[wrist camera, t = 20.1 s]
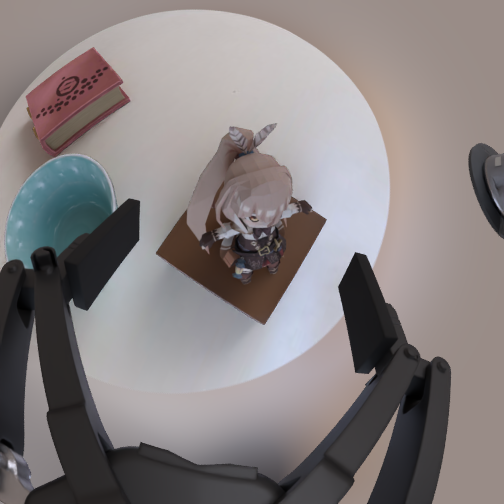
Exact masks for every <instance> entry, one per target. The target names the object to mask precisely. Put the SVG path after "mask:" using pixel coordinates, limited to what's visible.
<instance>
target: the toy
mask: <svg viewBox="0 0 504 504" xmlns="http://www.w3.org/2000/svg"><path fill="white" fill-rule="evenodd" d="M276 124H277V123H275V124H271V125H267V126H266V127H265V128H263V129H262V130H261V131H260V132H258V133H257V134H256V136H255V138H254V140H253V134H254V133H253V132H252V130H247V129H242V128H238V127H230V129H229V133H228V134H226V135H225V136H224V137H223V138H222V140H221V142H220V145H219V148H218V150H217V152H216V154H215V155H214V157H213V158H212V160H211V161H210V162H209V164H208V165H207V167H206V168H205V170H204V171H203V173H202V174H201V176H200V177H199V180H198V182H197V185H196V187H195V190H194V192H193V195H192V198H191V200H190V203H189V205H188V208H187V225H188V226H189V227H190V229H191V230H192V232H193V233H194V234H195V236H196V237H197V239H198V240H199V243H200V244H199V245H200V247H202V249H205V250H206V251H207V252H208V254H209V248H211V247H212V245H213V243H214V242H215V241H217V240H219V239H222V238H224V237H225V238H224V240H223V242H222V244H221V248H220V256H221V258H222V260H223V261H225V263H226V264H227V265H228V267H229V268H230V267H231V266H234V265H235V266H236V268H235V271H236V272H235V273H233V274H232V275H233V277H235V278H238V279H241V282H242V283H243V284H248V283H249V282H251V276H252V274H253V270H257V269H262V267H265V266H266V267H267V268H268V270H269V272H270V274H275V273H276V272H277V271H278V266H279V264H280V263H281V262H280V259H281V257H284V252H285V250H286V239H285V238H284V235H285V228H284V226H283V224H282V222H281V220H280V219H284V221H285V224H286V218H288V217H291V215H292V214H295V213H299V212H303V213H305V214H306V215H307V214H309V212H312V207H311V206H310V205H309V204H308V203H307V202H306V201H305V200H302V201H299V202H293V204H289V202H290V200H291V195H292V191H293V190H292V178H291V175H290V173H289V171H288V169H287V167H285V166H280V165H279V164H278V162H277V161H276V160H275V159H274V158H273V157H272V156H270V155H266V154H261V153H259V151H258V150H257V149H256V147H257V146H258V145H260V144H261V143H262V142H263V140H264V139H265V138H266V137H267V136H268V135H269V134H270V133H271V131H272V130H273V129H274V128H275V127H276ZM234 159H236V160H235V161H234ZM223 181H224V187H223V189H222V190H221V192H220V195H219V198H218V200H217V202H216V204H215V195H216V192H217V191H218V189H219V188H220V186H221V184H222V183H223ZM211 208H215V210H216V220H217V221H218V223H219V224H220V225H221V227H220V228H218V229H214V230H212V231H209V232H206V226H205V223H206V220H207V217H208V214H209V211H210V209H211ZM221 209H222V212H223V213H224V215H225V216H226V218H228V219H230V220H231V222H229V223H223V224H222V223H221V221H220V211H221ZM308 211H309V212H308ZM286 227H287V224H286ZM236 234H237V236H236V239H235V245H234V246H233V247H232V248H231V249H230V247H231V244H232V241H233V238H234V235H236ZM208 245H209V247H208Z"/></svg>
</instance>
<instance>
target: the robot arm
mask: <svg viewBox="0 0 504 504" xmlns="http://www.w3.org/2000/svg"><path fill="white" fill-rule="evenodd" d="M482 170H483V178H484V183H485V186H486V189H487V192H488V195H489V197H490V199H491V201H492V203H493V205H494V207H495V209H496V210H497V212H498V213H499V215H500V216H501V217H502V218H503V219H504V153H503V154H498V155H492V156H490V157H488V158H487V159H485V160H484V162H483V167H482ZM139 217H140V201H139V200H134V199H128V200H127V201H125V202H124V203H123V204H122V205H121V206H120V207H119V208H118V209H116V210H115V211H114V212H113V213H112V214H111V215H110V216H109V217H108V218H106V219H105V220H104V221H103V222H102V223H101V224H100V225H99V226H98V227H97V228H96V229H95V230H94V231H93V232H92V233H91V234H89V233H84V234H82V235H80V236H78V237H77V238H76V239H75V240H74V241H73V242H72V243H71V244H70V245H69V246H68V248H66V249H65V250H64V251H63V252H62V253H61V254H60V255H59V256H58V257H57V255H56V251H55V249H54V248H52V247H49V246H43V247H40V248H38V249H36V250H34V252H33V253H32V254H31V257H30V258H31V262H32V266H33V269H26V268H25V267H24V264H23V262H22V261H21V260H18V259H14V260H10V261H8V262H7V263H6V264H5V265H4V266H3V268H2V270H1V272H0V501H1V502H3V503H4V504H338V503H339V501H340V500H341V499H342V498H343V497H344V496H345V494H346V493H347V492H348V491H349V489H350V488H351V486H352V485H353V483H354V478H353V477H354V475H355V473H356V472H357V470H358V469H359V468H360V466H361V465H362V463H363V462H364V461H365V459H366V458H367V456H368V455H369V453H370V452H371V450H372V449H373V447H374V446H375V444H376V443H377V441H378V440H379V438H380V437H381V435H382V433H383V431H384V430H385V428H386V427H387V425H388V423H389V422H390V420H391V418H392V417H393V415H394V413H395V411H396V409H397V408H398V406H399V404H400V406H399V410H398V414H397V419H396V422H395V426H394V429H393V433H392V437H391V440H390V443H389V447H388V450H387V453H386V456H385V459H384V462H383V465H382V468H381V470H380V473H379V476H378V479H377V481H376V484H375V486H374V489H373V491H372V493H371V496H370V498H369V501H368V503H367V504H432V501H433V498H434V494H435V490H436V486H437V482H438V478H439V473H440V469H441V464H442V459H443V454H444V448H445V441H446V434H447V425H448V416H449V404H450V386H451V369H450V366H449V364H448V363H447V361H446V360H444V359H443V358H441V357H435V358H434V359H433V360H432V361H431V362H429V361H426V360H424V359H422V358H420V354H419V352H418V350H417V349H416V348H415V347H414V346H412V345H410V344H408V343H407V340H406V337H405V334H404V331H403V329H402V326H401V325H400V324H401V323H400V321H399V320H398V315H397V313H396V311H395V309H394V308H393V307H392V305H391V304H388V303H385V300H384V297H383V295H382V292H381V290H380V287H379V285H378V282H377V280H376V277H375V275H374V273H373V270H372V268H371V265H370V263H369V261H368V258H367V256H366V255H364V254H360V253H356V252H355V254H354V256H353V258H352V260H351V262H350V264H349V266H348V268H347V270H346V272H345V274H344V276H343V278H342V280H341V282H340V284H339V286H338V288H339V293H340V297H341V302H342V306H343V311H344V315H345V320H346V325H347V330H348V335H349V340H350V345H351V351H352V356H353V362H354V367H355V372H356V373H364V374H369V373H370V371H371V370H372V369H373V368H374V367H375V370H376V374H375V375H374V376H373V377H372V378H371V379H370V380H369V381H368V382H367V383H366V384H365V385H366V387H365V388H364V390H363V391H362V393H361V394H360V395H359V397H358V398H357V399H356V401H355V402H354V403H353V405H352V406H351V407H350V408H349V410H348V411H347V412H346V414H345V415H344V416H343V417H342V418H341V420H340V421H339V422H338V423H337V425H336V426H335V427H334V428H333V429H332V430H331V432H330V433H329V434H328V435H327V436H326V437H325V438H324V440H323V441H322V442H321V443H320V444H319V445H318V446H317V447H316V448H315V450H314V451H313V452H312V453H311V454H310V455H309V456H308V457H307V458H306V459H305V460H304V461H303V462H302V463H301V464H300V465H299V466H298V467H297V468H296V469H295V470H294V471H293V472H291V473H290V474H289V475H287V476H286V477H285V478H284V479H282V480H281V481H280V482H279V483H278V484H277V483H276V482H275V481H273V480H271V479H270V478H268V477H267V476H265V475H262V474H260V473H257V472H258V468H257V467H248V466H241V465H234V464H215V465H197V464H194V463H192V462H190V461H188V460H186V459H184V458H182V457H180V456H178V455H176V454H174V453H172V452H170V451H168V450H165V449H161V448H158V447H154V446H151V445H148V444H145V443H142V442H141V443H140V446H139V447H136V446H128V447H121V448H117V449H114V447H113V445H112V443H111V441H110V439H109V437H108V435H107V433H106V431H105V429H104V427H103V425H102V422H101V419H100V417H99V414H98V412H97V409H96V406H95V403H94V400H93V397H92V395H91V391H90V388H89V385H88V382H87V378H86V375H85V372H84V368H83V365H82V361H81V357H80V353H79V349H78V345H77V341H76V336H75V332H74V327H73V322H72V316H71V311H70V306H69V302H70V300H71V299H72V298H73V301H74V305H75V306H76V307H78V308H81V309H84V310H86V311H87V310H88V309H89V308H90V306H91V305H92V303H93V302H94V300H95V299H96V297H97V296H98V294H99V293H100V292H101V290H102V289H103V287H104V286H105V284H106V283H107V282H108V280H109V279H110V278H111V276H112V275H113V273H114V272H115V271H116V269H117V268H118V267H119V265H120V264H121V263H122V261H123V260H124V259H125V257H126V256H127V255H128V254H129V252H130V251H131V250H132V248H133V247H134V246H135V245H136V243H137V242H138V241H139ZM34 318H35V322H36V334H37V344H38V351H39V359H40V366H41V372H42V377H43V383H44V388H45V393H46V397H47V402H48V406H49V411H48V412H47V421H48V425H49V428H50V432H51V436H52V439H53V442H54V445H55V448H56V451H57V454H58V457H59V460H60V463H61V465H62V468H63V471H64V473H65V475H63V476H61V477H59V478H57V479H55V480H53V481H51V482H48V483H46V484H44V485H42V486H40V487H37V488H35V489H34V488H33V486H32V484H31V482H30V477H31V472H30V469H29V467H28V464H27V462H26V461H25V459H24V458H23V451H24V398H25V382H26V381H25V380H26V370H27V361H28V353H29V346H30V340H31V334H32V328H33V323H34Z"/></svg>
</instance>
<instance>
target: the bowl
mask: <svg viewBox="0 0 504 504" xmlns="http://www.w3.org/2000/svg"><path fill="white" fill-rule="evenodd" d="M116 209H118V207H117V201H116V196H115V191H114V187H113V184H112V181H111V179H110V177H109V175H108V173H107V172H106V170H105V169H104V168H103V167H102V165H101V164H99V163H98V162H97V161H96V160H94V159H93V158H91V157H89V156H86V155H83V154H65V155H61V156H58V157H55V158H53V159H51V160H49V161H47V162H45V163H44V164H42V165H41V166H40V167H38V168H37V169H36V170H35V171H34V172H33V173H32V174H31V175H30V176H29V177H28V178H27V179H26V181H25V182H24V183H23V185H22V186H21V188H20V189H19V191H18V192H17V194H16V196H15V198H14V200H13V202H12V205H11V207H10V210H9V213H8V217H7V221H6V226H5V235H4V246H5V256H6V261H7V262H8V261H10V260H14V259H18V260H21V261H22V262H23V264H24V267H25V268H26V269H33V266H32V262H31V258H30V257H31V254H32V253H33V252H34V250H36V249H38V248H40V247H43V246H49V247H52V248H54V249H55V251H56V255H57V257H58V256H59V255H60V254H61V253H62V252H63V251H64V250H65V249H66V248H68V246H69V245H70V244H71V243H72V242H73V241H74V240H75V239H76V238H77V237H78V236H80V235H82V234H84V233H89V234H91V233H92V232H93V231H94V230H95V229H96V228H97V227H98V226H99V225H100V224H101V223H102V222H103V221H104V220H105V219H106V218H108V217H109V216H110V215H111V214H112V213H113V212H114V211H115V210H116Z"/></svg>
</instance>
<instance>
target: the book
mask: <svg viewBox="0 0 504 504" xmlns="http://www.w3.org/2000/svg"><path fill="white" fill-rule="evenodd" d="M122 83H123V81H122V79H121V78H120V77H119V76H118V74H117V73H116V72H115V71H114V70H113V69H112V68H111V66H110V65H109V64H108V63H107V62H106V61H105V60H104V59H103V57H102V56H101V55H100V54H99V53H98V52H97V51H96V49H95V48H94V47H93V48H91V49H90V50H88V51H86V52H85V53H83V54H82V55H80V56H78V57H77V58H75V59H74V60H72V61H71V62H69V63H68V64H67V65H65V66H64V67H62V68H61V69H59V70H58V71H57V72H55V73H54V74H53V75H51V76H50V77H49V78H47V79H46V80H45V81H44V82H42V83H41V84H40V85H39V86H37V87H36V88H35V89H34V90H32V91H31V92H30V93H29V94H28V95H27V96H26V99H27V102H28V106H29V107H27V111H28V114H29V116H30V118H31V119H32V120H33V123H34V126H35V127H33V131H34V134H35V136H36V138H37V139H38V140H39V141H40V143H41V145H42V148H43V149H44V150H45V151H46V152H47V153H48V154H50V155H52V156H54V157H56V156H57V155H58V154H59V153H60V152H62V151H63V150H64V149H65V148H66V147H67V146H69V145H70V144H71V143H72V142H74V141H75V140H76V139H77V138H79V137H80V136H81V135H82V134H84V133H85V132H86V131H88V130H89V129H90V128H92V127H93V126H94V125H96V124H97V123H98V122H100V121H101V120H103V119H104V118H105V117H107V116H108V115H110V114H111V113H113V112H114V111H116V110H117V109H119V108H120V107H122V106H123V105H125V104H126V103H128V102H129V101H130V99H129V97H128V96H127V95H126V94H125V92H124V91H123V90H122V89H121V88H120V86H119V85H121V84H122Z"/></svg>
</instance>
